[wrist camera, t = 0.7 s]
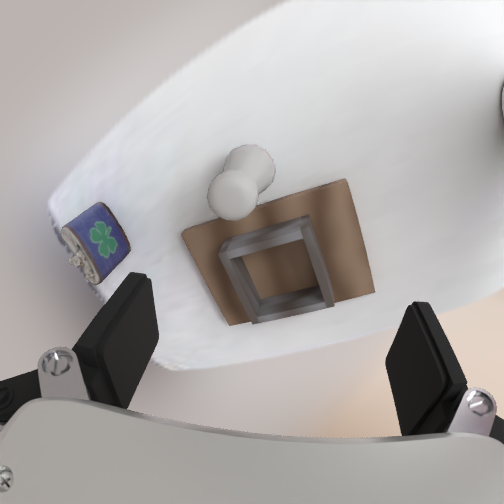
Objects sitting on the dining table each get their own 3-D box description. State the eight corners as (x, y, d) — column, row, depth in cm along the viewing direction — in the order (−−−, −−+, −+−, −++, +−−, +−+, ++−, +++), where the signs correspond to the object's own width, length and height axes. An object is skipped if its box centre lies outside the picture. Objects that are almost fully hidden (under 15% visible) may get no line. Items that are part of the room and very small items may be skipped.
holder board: (345, 178, 36) (352, 192, 32) (373, 286, 43) (380, 310, 38) (184, 229, 43) (170, 248, 38) (231, 319, 49) (223, 343, 44)
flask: (92, 205, 43) (48, 236, 34) (105, 197, 43) (60, 228, 33) (122, 256, 47) (86, 296, 38) (135, 250, 46) (100, 291, 37)
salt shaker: (221, 174, 39) (185, 212, 27) (241, 133, 36) (211, 153, 24) (263, 195, 39) (245, 243, 28) (285, 155, 36) (277, 187, 25)
